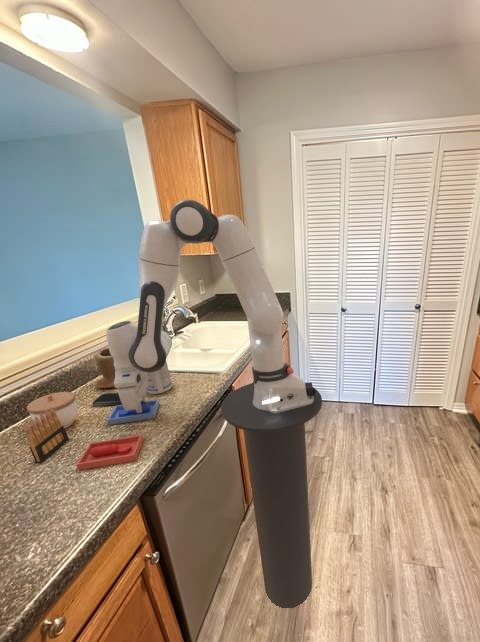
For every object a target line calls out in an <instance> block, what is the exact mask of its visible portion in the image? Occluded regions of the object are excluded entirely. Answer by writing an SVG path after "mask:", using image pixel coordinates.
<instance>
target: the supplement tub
mask: <svg viewBox="0 0 480 642" xmlns="http://www.w3.org/2000/svg"><path fill="white" fill-rule="evenodd" d="M147 375H148V379H149V385H148V387H147V389H146V392H147V393H148V394H150V395H158V394H163V393H166V392H167V391H169V390H170V389H172V386H173V382H172V378H171V374H170V370H169V366H168V362H167V360H166V361H165V364H164V366H163V367H162V368H161V369H160V370H158V371H155V372H147Z"/></svg>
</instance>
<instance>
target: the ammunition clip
mask: <svg viewBox="0 0 480 642" xmlns="http://www.w3.org/2000/svg"><path fill="white" fill-rule="evenodd" d="M50 414H51V415H50ZM50 414H49V412H48V411H47V410H45V416H46V418H45V417H44V415H43V414H42V413H40V420H41V422H42V424H41V422H40V420H39V419H38V418H37V417H35V422H34V421H33V419H30V420H29V425H28V424H27V423H24V424H23V428H24V432H25V436H26V439H27V442H28V443H29V450H30V452H31V455H32V457H33V461H34V462H35V463H43V462H45V461H46V460H47V459H48V458H49V457H51V456H52V455H53V454H55V452H57V450H59V449H60V448H61V447H63V445H65V444H66V443H67V442H68V441H69V440H70V438H69V436H68V434H67V431H66V428H64V427H63V426H62V425H61V423H60V420H59V418H58V417H57V415H56V413H55V411H54V409H53V408H52V407H50ZM46 419H47V420H46Z"/></svg>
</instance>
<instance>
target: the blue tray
mask: <svg viewBox="0 0 480 642" xmlns="http://www.w3.org/2000/svg"><path fill="white" fill-rule="evenodd" d="M146 404H148V405H150V407H151V409H150V410H149V411H148V412H142V413H135V414H130V415H128V416H126V417H119V415H118V412H119V411H121V410H123V409H124V408H123V405H114V408H113V410H112V411H111V413H110V415H109V416H108V418H107V419H106V421H107V424H108V426H113V425H117V424H119V425H120V424H125V423H131V422H139V421H144V420H151V419H155V418H156V415H157V414H158V410H159V407H160V405H161V404H160V401H159V399H153V400H147V401H146Z"/></svg>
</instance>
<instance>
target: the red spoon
mask: <svg viewBox="0 0 480 642" xmlns="http://www.w3.org/2000/svg"><path fill="white" fill-rule="evenodd" d="M131 450H132V448H131V445H130V444H123V445H121V446H118V445H117V444H111V445H104V446H98V447H94V448H92V449H91V451H90V454H91V455H92V456H102V455H108V454H114V453H116V452H117V453H118V454H119V455H124V454H127V453H129V452H130V451H131Z"/></svg>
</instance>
